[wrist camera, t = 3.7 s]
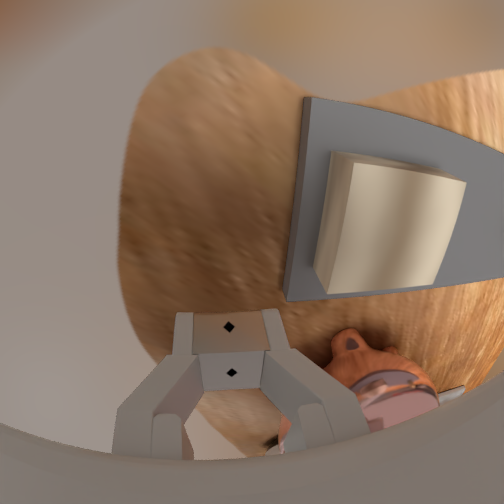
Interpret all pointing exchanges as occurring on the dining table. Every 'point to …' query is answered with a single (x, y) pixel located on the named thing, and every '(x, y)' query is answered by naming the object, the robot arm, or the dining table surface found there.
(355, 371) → the piggy bank
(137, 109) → the dining table surface
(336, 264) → the beige flat block
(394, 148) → the board
